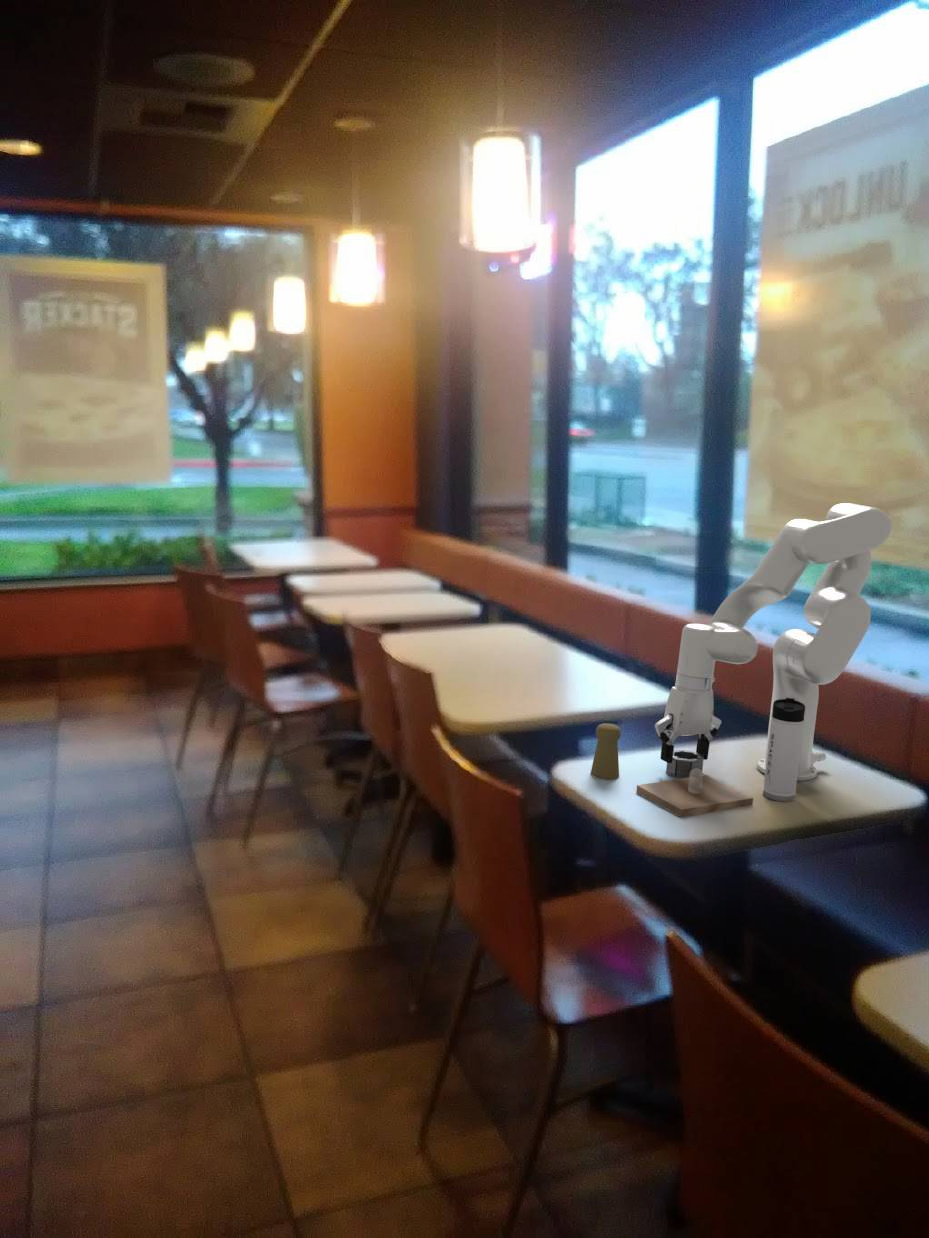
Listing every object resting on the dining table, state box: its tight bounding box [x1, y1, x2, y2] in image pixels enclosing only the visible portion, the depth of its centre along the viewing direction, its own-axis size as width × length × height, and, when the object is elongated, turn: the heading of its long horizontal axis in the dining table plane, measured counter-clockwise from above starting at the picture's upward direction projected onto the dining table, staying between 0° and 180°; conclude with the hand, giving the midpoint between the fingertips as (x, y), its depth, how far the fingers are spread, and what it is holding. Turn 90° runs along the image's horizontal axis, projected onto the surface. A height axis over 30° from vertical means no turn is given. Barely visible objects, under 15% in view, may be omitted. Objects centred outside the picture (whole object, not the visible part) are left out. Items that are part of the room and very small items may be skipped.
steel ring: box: [665, 749, 704, 779], centre depth 220 cm, size 7×7×4 cm
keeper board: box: [636, 768, 754, 818], centre depth 205 cm, size 18×14×6 cm
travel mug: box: [762, 698, 805, 803], centre depth 207 cm, size 6×7×20 cm
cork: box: [590, 722, 622, 781], centre depth 216 cm, size 6×6×11 cm
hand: (683, 759), depth 220 cm, fingers open, 9 cm apart
